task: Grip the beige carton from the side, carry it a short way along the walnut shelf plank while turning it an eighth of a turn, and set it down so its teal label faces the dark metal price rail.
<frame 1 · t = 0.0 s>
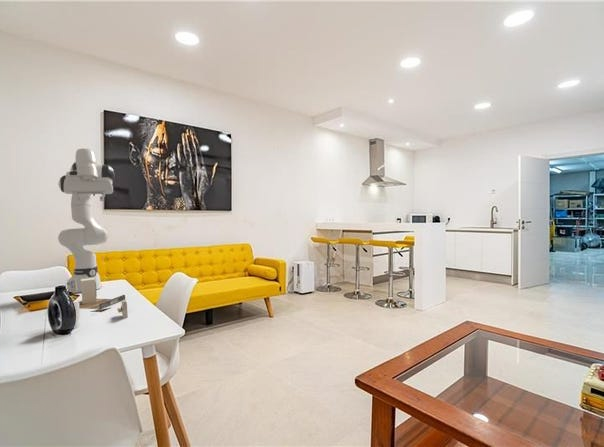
hand: (90, 200, 152), 54 cm above the table, tool tilted 30°, fingers open, 8 cm apart
carton: (89, 301, 166), point 1 cm above the table, touching shelf plank
shelf plank: (94, 306, 163), on the table
white cup: (69, 328, 133), on the table
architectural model: (124, 317, 146), on the table
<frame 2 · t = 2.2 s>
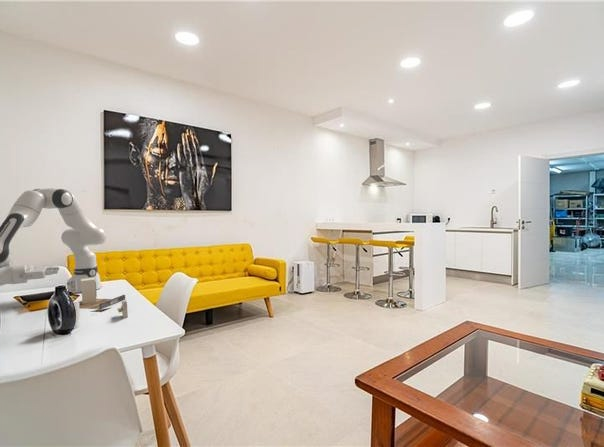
hand: (58, 270, 158), 20 cm above the table, tool horizontal, fingers open, 8 cm apart
nothing on the table moved.
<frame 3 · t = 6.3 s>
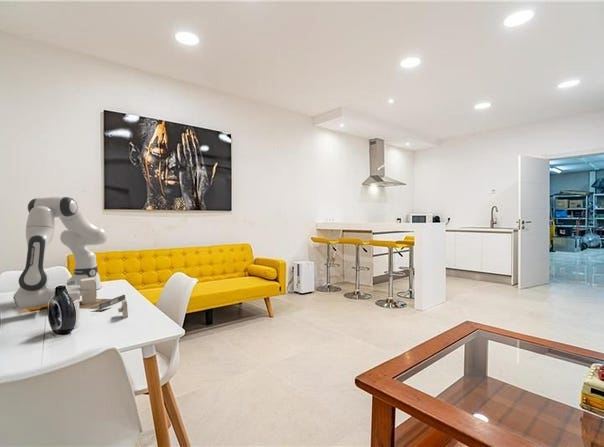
hand: (90, 290, 166), 8 cm above the table, tool horizontal, fingers closed on carton, 6 cm apart
carton: (89, 301, 166), point 2 cm above the table, touching gripper, shelf plank
everything else where it was.
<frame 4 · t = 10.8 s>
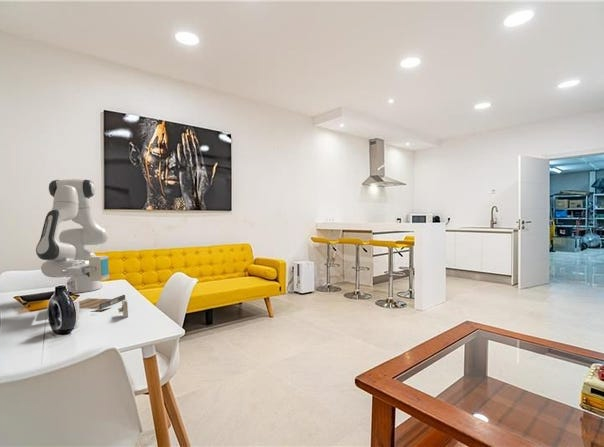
hand: (100, 268, 161), 20 cm above the table, tool horizontal, fingers closed on carton, 6 cm apart
carton: (99, 279, 161), point 14 cm above the table, touching gripper
everything else where it was.
when the fingers open (9 cm above the table, at t = 15.0 s): carton drops 1 cm, resting on shelf plank.
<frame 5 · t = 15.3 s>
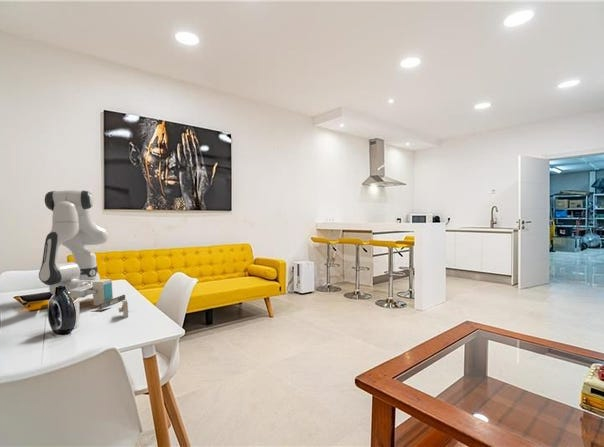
hand: (104, 289, 161), 9 cm above the table, tool horizontal, fingers open, 8 cm apart
carton: (103, 303, 162), point 1 cm above the table, touching shelf plank
everything else where it was.
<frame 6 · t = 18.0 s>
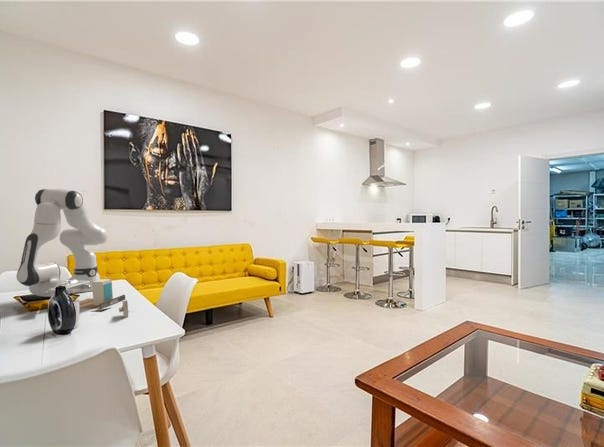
hand: (83, 288, 163), 9 cm above the table, tool horizontal, fingers open, 8 cm apart
nothing on the table moved.
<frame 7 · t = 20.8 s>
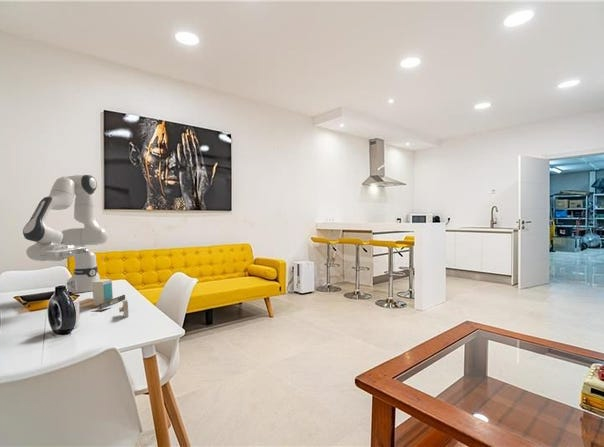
hand: (79, 252, 162), 28 cm above the table, tool horizontal, fingers open, 8 cm apart
nothing on the table moved.
at the end: carton 0.1 cm from the target spot, point 1.5 cm above the table; carton tilted 0°; the gripper is holding nothing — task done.
